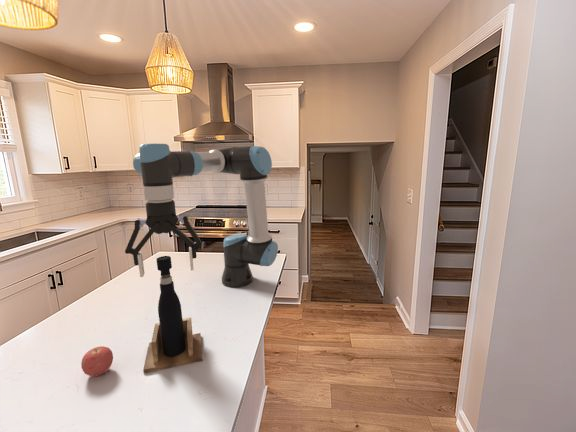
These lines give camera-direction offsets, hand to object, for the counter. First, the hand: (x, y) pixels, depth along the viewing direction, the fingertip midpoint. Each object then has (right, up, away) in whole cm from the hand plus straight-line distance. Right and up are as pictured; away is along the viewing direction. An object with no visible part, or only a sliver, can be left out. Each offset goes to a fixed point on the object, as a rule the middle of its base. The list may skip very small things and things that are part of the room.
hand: (167, 272), depth 85 cm
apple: (-18, -28, -3) cm, 34 cm away
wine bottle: (0, -25, +5) cm, 26 cm away
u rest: (0, -26, +5) cm, 27 cm away
